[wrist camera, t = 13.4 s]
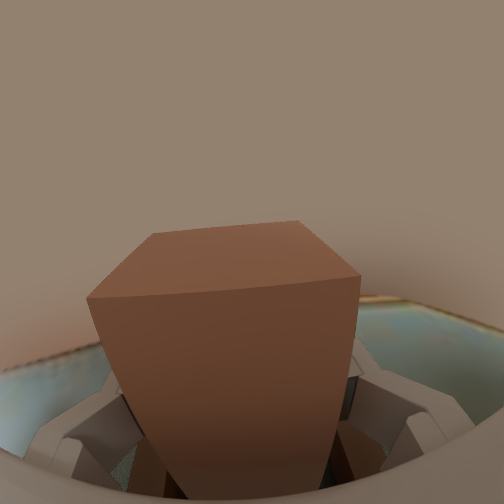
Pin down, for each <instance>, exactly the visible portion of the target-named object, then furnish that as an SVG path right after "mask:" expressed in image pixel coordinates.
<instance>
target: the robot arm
mask: <svg viewBox="0 0 504 504" xmlns="http://www.w3.org/2000/svg"><path fill="white" fill-rule="evenodd" d="M344 420H348V422H350V423H351V424H352V425H354V426H355V427H356V428H358V429H359V430H360V431H362V432H363V433H365V434H366V435H367V436H369V437H370V438H372V439H373V440H374V441H376V442H377V443H379V444H380V445H382V446H383V447H385V448H386V449H387V450H389V451H390V453H389V454H388V456H387V458H386V460H385V461H384V463H383V465H382V466H381V468H380V470H381V472H380V473H377V474H374V475H371V476H368V477H365V478H362V479H359V480H355V481H352V482H348V483H345V484H341V485H337V486H333V487H329V488H324V489H320V490H315V491H310V492H305V493H299V494H293V495H286V496H279V497H271V498H261V499H248V500H223V501H209V500H184V499H172V498H162V497H154V496H147V495H140V494H134V493H129V492H123V491H121V489H122V488H121V486H120V485H119V484H118V483H117V482H116V481H115V480H114V479H113V477H112V476H111V475H110V474H109V473H110V472H111V471H112V470H113V469H114V468H115V467H116V466H117V465H118V464H119V463H120V462H121V461H122V459H123V458H124V457H125V456H126V455H127V454H128V453H129V452H130V451H131V450H132V449H133V448H134V447H135V446H136V445H137V444H138V443H139V442H140V441H141V440H142V439H143V437H144V436H146V435H145V434H144V432H143V430H142V428H141V427H140V425H139V423H138V421H137V419H136V417H135V416H134V414H133V412H132V410H131V408H130V406H129V404H128V402H127V400H126V398H125V396H124V394H123V392H122V390H121V388H120V386H119V383H118V381H117V379H116V377H115V375H114V372H113V370H112V368H111V370H110V372H109V374H108V376H107V378H106V380H105V383H104V385H103V387H102V389H101V391H100V392H95V393H93V394H91V395H90V396H88V397H87V398H85V399H84V400H82V401H81V402H79V403H77V404H76V405H74V406H73V407H71V408H70V409H68V410H66V411H65V412H63V413H62V414H60V415H59V416H57V417H55V418H54V419H52V420H51V421H49V422H47V423H46V424H44V425H43V426H41V427H39V429H38V431H37V433H36V434H35V436H34V438H33V440H32V442H31V444H30V446H29V448H28V450H27V452H26V454H25V456H24V458H23V459H22V458H20V457H18V456H16V455H14V454H12V453H10V452H8V451H6V450H4V449H2V448H0V504H504V406H503V407H502V408H501V409H499V410H498V411H497V412H495V413H494V414H493V415H491V416H490V417H488V418H487V419H485V420H484V421H482V422H481V423H479V424H478V425H476V426H475V424H474V423H473V422H472V420H471V419H470V418H469V417H468V415H467V414H466V413H465V411H464V410H463V409H462V408H461V406H460V405H459V404H458V402H457V401H456V400H455V399H454V397H453V396H450V395H448V394H445V393H442V392H440V391H437V390H435V389H432V388H430V387H427V386H425V385H422V384H420V383H417V382H415V381H413V380H410V379H408V378H405V377H403V376H401V375H398V374H396V373H394V372H391V371H389V370H387V369H384V370H381V369H380V368H379V366H378V365H377V363H376V362H375V360H374V359H373V357H372V356H371V354H370V353H369V352H368V350H367V349H366V347H365V346H364V344H363V343H362V342H361V340H360V339H359V338H354V344H353V351H352V357H351V363H350V369H349V374H348V380H347V385H346V390H345V395H344V399H343V404H342V408H341V413H340V417H339V421H338V422H340V421H344Z"/></svg>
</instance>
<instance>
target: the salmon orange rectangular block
mask: <svg viewBox="0 0 504 504" xmlns="http://www.w3.org/2000/svg"><path fill="white" fill-rule="evenodd" d="M360 283H361V275H360V274H359V273H358V272H357V271H355V270H354V269H353V268H352V267H351V266H350V265H349V264H348V263H347V262H345V261H344V260H343V259H342V258H341V257H340V256H339V255H338V254H337V253H335V252H334V251H333V250H332V249H331V248H330V247H329V246H327V245H326V244H325V243H324V242H323V241H321V240H320V239H319V238H318V237H317V236H316V235H315V234H313V233H312V232H311V231H310V230H309V229H307V228H306V227H305V226H304V225H303V224H302V223H300V222H299V221H286V222H274V223H260V224H248V225H237V226H225V227H214V228H203V229H193V230H183V231H173V232H163V233H154V234H152V235H151V236H150V237H148V238H147V239H146V240H145V241H144V242H143V243H142V244H141V245H140V246H139V247H138V248H136V249H135V250H134V251H133V252H132V253H131V254H130V255H129V256H128V257H127V258H126V259H125V260H124V261H123V262H122V263H121V264H120V265H119V266H118V267H117V268H116V269H115V270H114V271H113V272H111V274H110V275H108V277H106V279H104V280H103V281H102V283H101V284H100V285H99V286H98V287H97V288H96V289H95V290H94V291H93V292H92V293H91V294H90V295H89V296H88V297H87V298H86V299H87V302H88V305H89V309H90V312H91V315H92V318H93V321H94V324H95V327H96V329H97V332H98V335H99V338H100V340H101V343H102V346H103V348H104V351H105V353H106V356H107V358H108V361H109V363H110V365H111V368H112V370H113V372H114V375H115V377H116V379H117V381H118V383H119V386H120V388H121V390H122V392H123V394H124V396H125V398H126V400H127V402H128V404H129V406H130V408H131V410H132V412H133V414H134V416H135V417H136V419H137V421H138V423H139V425H140V427H141V428H142V430H143V432H144V434H145V435H146V437H147V439H148V440H149V442H150V444H151V445H152V447H153V449H154V450H155V452H156V453H157V455H158V457H159V458H160V460H161V461H162V463H163V464H164V466H165V467H166V469H167V470H168V472H169V473H170V475H171V476H172V477H173V479H174V480H175V482H176V483H177V484H178V486H179V487H180V488H181V490H182V491H183V492H184V494H185V495H186V496H187V498H188V499H189V500H209V501H223V500H248V499H261V498H271V497H279V496H286V495H293V494H299V493H305V492H310V491H315V490H319V487H320V484H321V481H322V478H323V475H324V472H325V469H326V465H327V462H328V459H329V455H330V452H331V448H332V445H333V441H334V437H335V433H336V429H337V425H338V421H339V417H340V413H341V408H342V404H343V399H344V395H345V390H346V385H347V380H348V374H349V369H350V363H351V357H352V351H353V344H354V337H355V330H356V322H357V314H358V305H359V295H360Z"/></svg>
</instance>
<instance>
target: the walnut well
mask: <svg viewBox="0 0 504 504" xmlns="http://www.w3.org/2000/svg"><path fill="white" fill-rule="evenodd" d="M385 460H386V456H385V454H384V452H383V449H382V447H381V445H380V444H379V443H377V442H376V441H374V440H373V439H372V438H370V437H369V436H367V435H366V434H365V433H363V432H362V431H360V430H359V429H358V428H356V427H355V426H354V425H352V424H351V423H350V422H348V420H344V421H340V422H338V425H337V429H336V433H335V437H334V441H333V445H332V448H331V452H330V455H329V459H328V461H329V464H330V467H331V470H332V474H333V477H334V480H335V483H336V486H337V485H341V484H345V483H348V482H352V481H355V480H359V479H362V478H365V477H368V476H371V475H374V474H377V473H380V472H381V470H380V468H381V466H382V465H383V463H384V461H385ZM127 492H129V493H134V494H140V495H147V496H154V497H162V498H172V499H184V500H185V494H184V492H183V491H182V490H181V488H180V487H179V486H178V484H177V483H176V482H175V480H174V479H173V477H172V476H171V475H170V473H169V472H168V470H167V469H166V467H165V466H164V464H163V463H162V461H161V460H160V458H159V457H158V455H157V453H156V452H155V450H154V449H153V447H152V445H151V444H150V442H149V440H148V439H147V437H146V436H144V437H143V439H142V440H141V441H140V442H139V443H138V445H137V449H136V454H135V458H134V462H133V466H132V470H131V475H130V479H129V484H128V488H127Z"/></svg>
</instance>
